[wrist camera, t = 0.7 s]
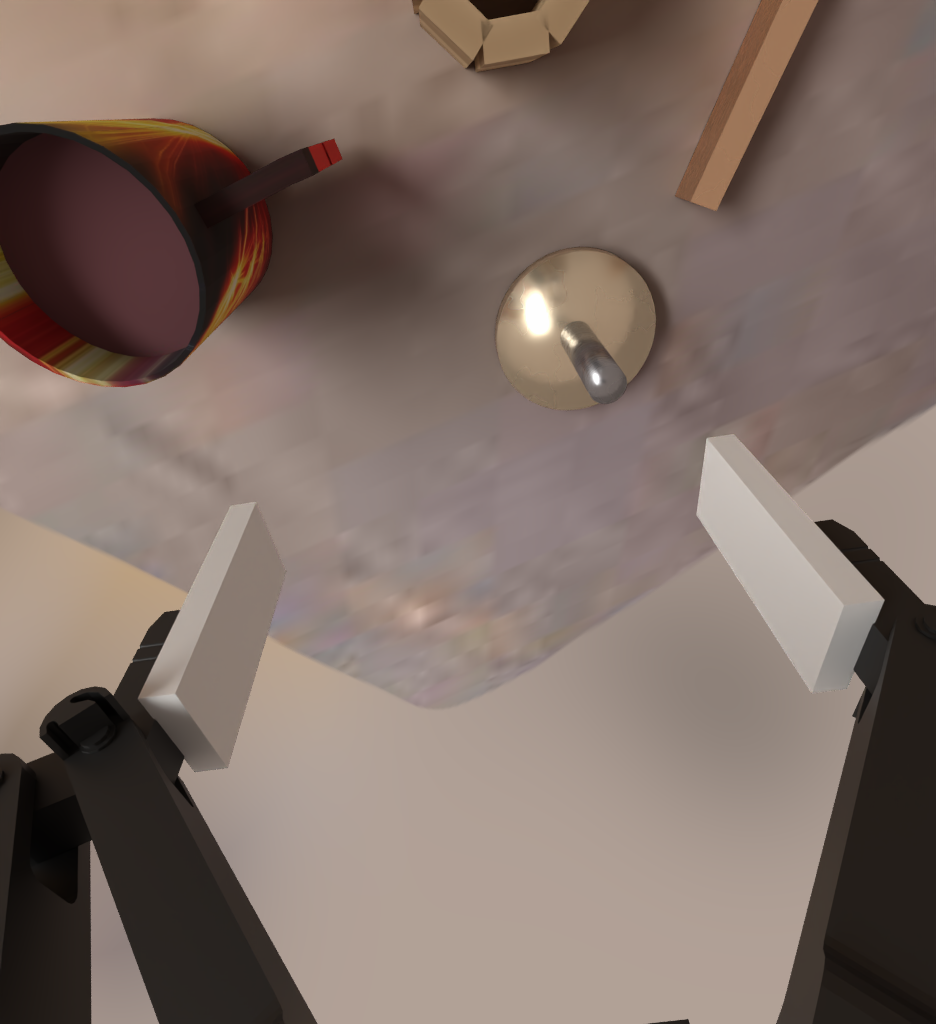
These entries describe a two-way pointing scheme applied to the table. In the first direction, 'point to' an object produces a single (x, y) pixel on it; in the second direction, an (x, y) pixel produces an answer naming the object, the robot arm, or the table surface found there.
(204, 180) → the mug
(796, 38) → the bent hammer
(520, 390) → the peg stand
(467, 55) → the oak ring
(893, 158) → the table surface
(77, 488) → the table surface
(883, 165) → the table surface
